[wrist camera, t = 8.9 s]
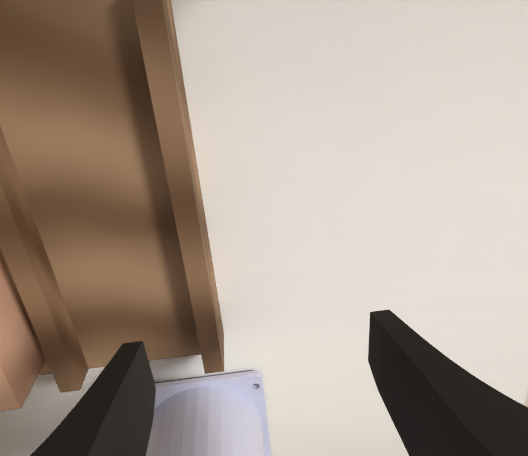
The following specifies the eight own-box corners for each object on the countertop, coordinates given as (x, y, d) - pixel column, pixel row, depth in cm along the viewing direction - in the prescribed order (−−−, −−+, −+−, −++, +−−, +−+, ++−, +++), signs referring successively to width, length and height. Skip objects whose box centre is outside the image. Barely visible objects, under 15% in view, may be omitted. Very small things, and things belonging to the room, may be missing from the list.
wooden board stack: (223, 333, 24) (224, 371, 22) (-54, 368, 24) (-89, 412, 21) (168, -17, 17) (157, -26, 14) (-254, 18, 16) (-351, 17, 13)
